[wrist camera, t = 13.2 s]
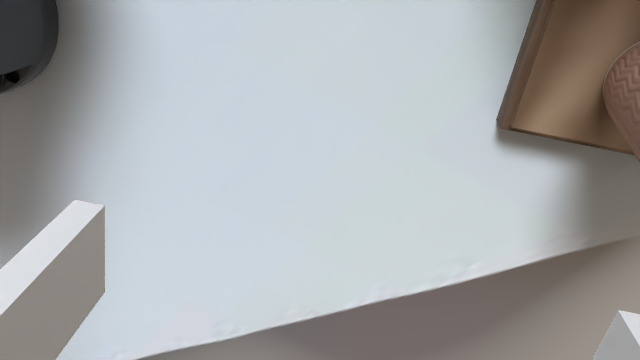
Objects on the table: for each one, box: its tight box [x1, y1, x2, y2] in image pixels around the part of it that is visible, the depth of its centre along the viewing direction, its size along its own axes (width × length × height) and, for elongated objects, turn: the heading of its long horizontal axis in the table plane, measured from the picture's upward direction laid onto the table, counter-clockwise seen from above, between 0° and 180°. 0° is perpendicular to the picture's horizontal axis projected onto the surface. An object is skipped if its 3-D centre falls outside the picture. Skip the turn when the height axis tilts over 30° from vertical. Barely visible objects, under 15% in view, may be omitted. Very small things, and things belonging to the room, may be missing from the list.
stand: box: [496, 0, 640, 155], centre depth 43 cm, size 14×12×3 cm
